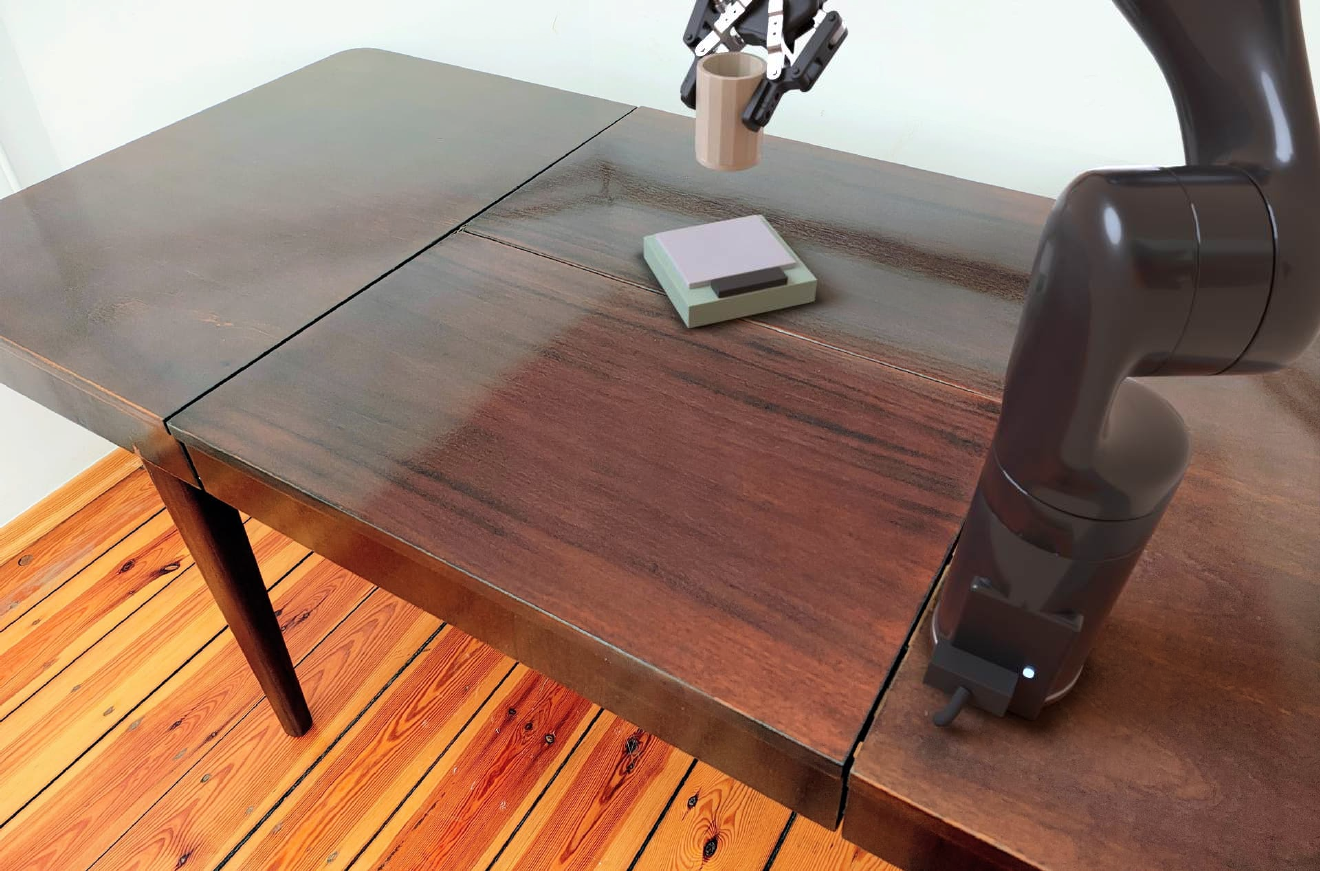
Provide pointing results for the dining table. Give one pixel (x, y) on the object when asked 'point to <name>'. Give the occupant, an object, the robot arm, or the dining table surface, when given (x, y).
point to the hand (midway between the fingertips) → (718, 115)
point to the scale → (728, 270)
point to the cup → (727, 110)
